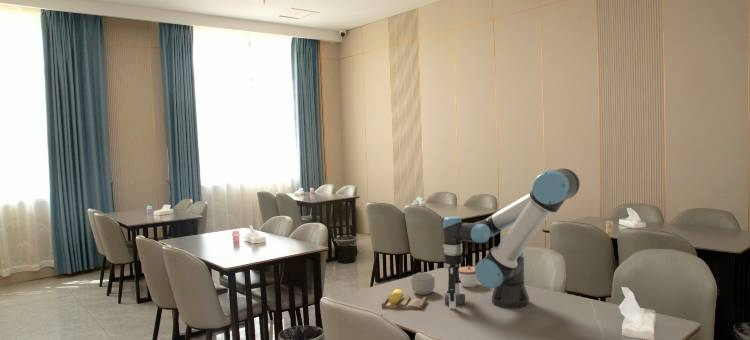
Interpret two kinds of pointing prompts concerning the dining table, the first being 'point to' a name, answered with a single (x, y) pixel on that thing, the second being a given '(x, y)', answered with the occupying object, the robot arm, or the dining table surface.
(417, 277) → the teacup
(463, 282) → the lidded jar
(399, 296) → the yellow foam roll
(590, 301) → the dining table surface
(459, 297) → the gray cylinder
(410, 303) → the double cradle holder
